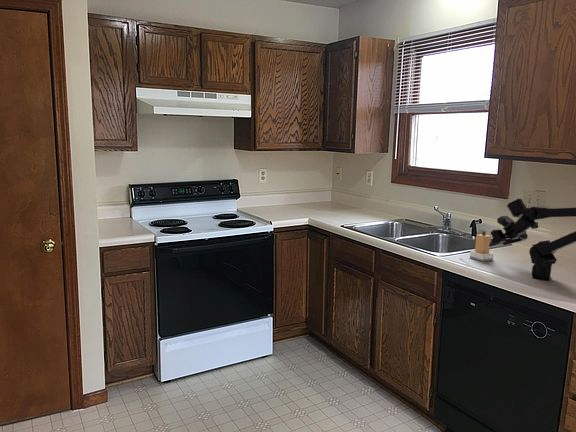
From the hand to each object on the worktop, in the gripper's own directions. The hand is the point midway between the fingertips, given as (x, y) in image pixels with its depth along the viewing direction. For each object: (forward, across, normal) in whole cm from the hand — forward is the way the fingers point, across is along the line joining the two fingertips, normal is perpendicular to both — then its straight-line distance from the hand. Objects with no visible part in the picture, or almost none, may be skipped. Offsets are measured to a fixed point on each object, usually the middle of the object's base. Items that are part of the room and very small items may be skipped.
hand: (496, 245), depth 219 cm
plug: (+11, 0, 0) cm, 11 cm away
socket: (+11, 0, +1) cm, 11 cm away
